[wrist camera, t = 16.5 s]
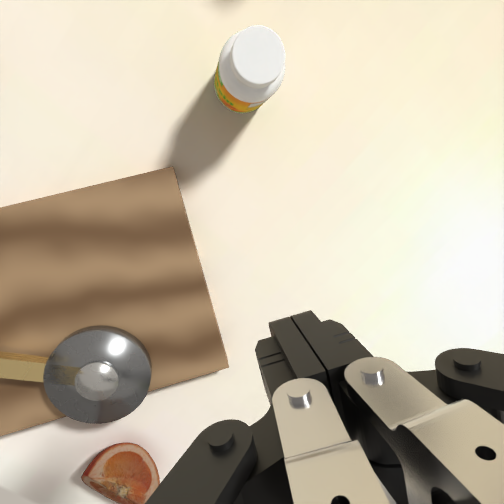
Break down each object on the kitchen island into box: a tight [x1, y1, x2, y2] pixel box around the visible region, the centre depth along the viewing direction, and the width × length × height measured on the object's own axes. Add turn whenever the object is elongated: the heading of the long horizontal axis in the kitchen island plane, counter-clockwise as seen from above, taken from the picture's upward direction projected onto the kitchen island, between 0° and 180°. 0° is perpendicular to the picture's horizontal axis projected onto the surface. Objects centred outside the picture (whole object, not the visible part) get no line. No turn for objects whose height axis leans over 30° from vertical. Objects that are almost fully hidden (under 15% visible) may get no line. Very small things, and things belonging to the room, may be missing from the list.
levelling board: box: [0, 167, 229, 436], centre depth 36 cm, size 22×26×5 cm
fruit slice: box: [81, 443, 160, 504], centre depth 40 cm, size 8×7×5 cm
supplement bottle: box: [214, 25, 285, 113], centre depth 31 cm, size 5×5×10 cm
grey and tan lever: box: [0, 325, 152, 423], centre depth 33 cm, size 20×10×6 cm, turn 77°
